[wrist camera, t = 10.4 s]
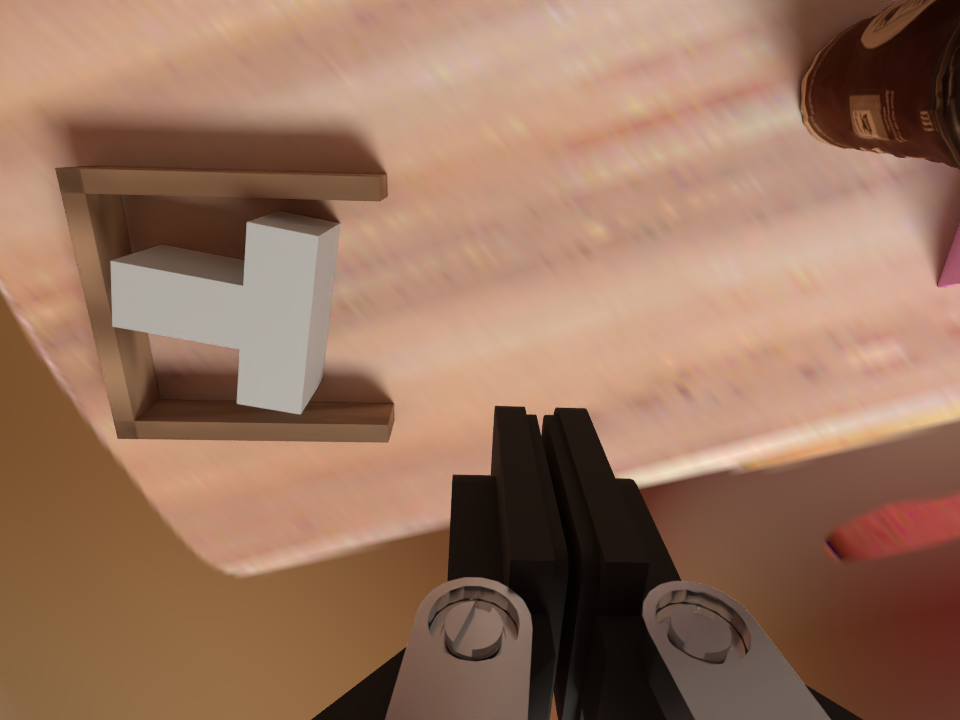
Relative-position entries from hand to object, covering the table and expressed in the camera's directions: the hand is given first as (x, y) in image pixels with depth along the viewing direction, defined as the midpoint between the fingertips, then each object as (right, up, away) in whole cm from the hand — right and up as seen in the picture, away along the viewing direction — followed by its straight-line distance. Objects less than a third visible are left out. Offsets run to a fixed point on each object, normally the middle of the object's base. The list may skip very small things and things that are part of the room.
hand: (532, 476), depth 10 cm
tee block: (-15, +6, +23) cm, 28 cm away
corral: (-14, +6, +23) cm, 28 cm away
